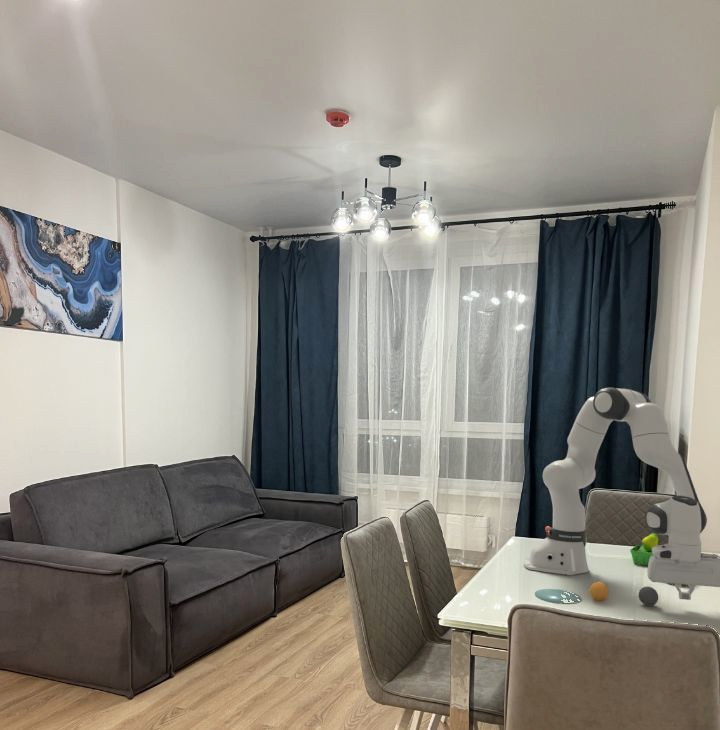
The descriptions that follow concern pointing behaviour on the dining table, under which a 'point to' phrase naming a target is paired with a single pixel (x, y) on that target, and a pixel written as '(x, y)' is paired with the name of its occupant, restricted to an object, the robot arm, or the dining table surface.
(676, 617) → the dining table surface
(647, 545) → the fruit basket
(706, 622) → the dining table surface
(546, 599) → the teal patterned plate
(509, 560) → the dining table surface
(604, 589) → the object ball
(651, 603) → the dark gray ball
